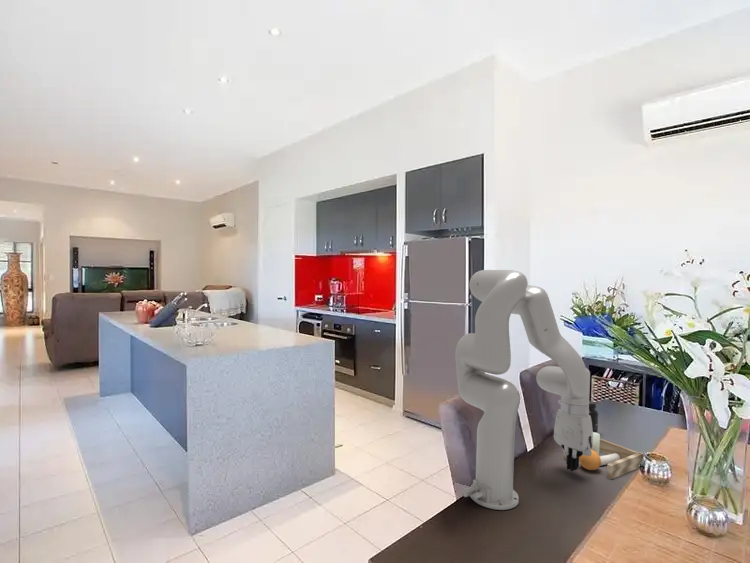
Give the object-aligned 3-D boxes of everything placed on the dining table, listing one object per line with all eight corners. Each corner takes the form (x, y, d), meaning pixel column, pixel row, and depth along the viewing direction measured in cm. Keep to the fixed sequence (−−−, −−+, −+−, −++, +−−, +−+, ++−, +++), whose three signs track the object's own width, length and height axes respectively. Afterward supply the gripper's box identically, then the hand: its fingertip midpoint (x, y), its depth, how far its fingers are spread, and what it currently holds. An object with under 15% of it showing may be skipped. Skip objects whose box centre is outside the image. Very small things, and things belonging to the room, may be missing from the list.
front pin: (601, 460, 130) (621, 456, 134) (594, 455, 133) (613, 451, 136) (599, 467, 131) (618, 463, 134) (592, 462, 133) (611, 458, 137)
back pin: (596, 462, 134) (597, 435, 134) (588, 459, 136) (589, 433, 136) (600, 460, 135) (601, 434, 135) (592, 457, 138) (593, 431, 138)
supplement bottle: (600, 438, 154) (601, 405, 154) (580, 436, 156) (581, 404, 155) (594, 431, 161) (595, 400, 161) (575, 429, 162) (576, 398, 162)
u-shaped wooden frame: (610, 479, 123) (611, 466, 123) (563, 459, 136) (564, 446, 136) (643, 466, 132) (643, 453, 132) (596, 448, 145) (596, 436, 145)
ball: (607, 455, 128) (602, 473, 128) (589, 444, 133) (584, 462, 133) (595, 456, 125) (590, 475, 125) (577, 445, 130) (572, 464, 130)
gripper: (544, 402, 130) (542, 461, 130) (591, 417, 117) (588, 483, 117) (560, 399, 134) (558, 456, 134) (606, 413, 121) (604, 477, 121)
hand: (572, 468), depth 126 cm, fingers closed
